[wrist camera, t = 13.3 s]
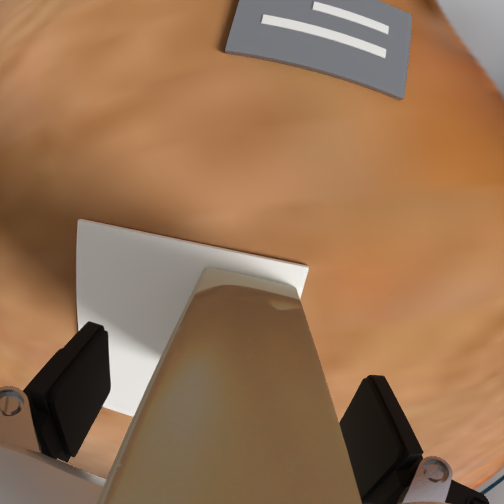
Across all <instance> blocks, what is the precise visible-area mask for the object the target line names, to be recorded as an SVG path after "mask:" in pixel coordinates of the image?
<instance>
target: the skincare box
mask: <svg viewBox="0 0 504 504" xmlns="http://www.w3.org/2000/svg"><path fill="white" fill-rule="evenodd" d="M97 504H362V502H361V498H360V495H359V491H358V487H357V484H356V480H355V477H354V473H353V469H352V466H351V462H350V459H349V455H348V451H347V448H346V445H345V442H344V439H343V435H342V432H341V428H340V425H339V421H338V418H337V415H336V412H335V409H334V405H333V402H332V398H331V395H330V392H329V389H328V385H327V382H326V379H325V375H324V372H323V370H322V366H321V363H320V360H319V356H318V353H317V350H316V347H315V344H314V341H313V338H312V335H311V332H310V329H309V326H308V323H307V320H306V316H305V313H304V310H303V307H302V304H301V301H300V298H299V295H298V292H297V289H296V288H295V287H294V286H290V285H286V284H282V283H278V282H274V281H270V280H266V279H262V278H258V277H254V276H249V275H245V274H241V273H236V272H232V271H227V270H223V269H219V268H214V267H206V268H204V270H203V271H202V273H201V275H200V277H199V279H198V281H197V284H196V286H195V288H194V290H193V292H192V294H191V296H190V298H189V300H188V302H187V304H186V306H185V308H184V310H183V312H182V314H181V316H180V318H179V320H178V322H177V324H176V326H175V328H174V330H173V332H172V334H171V337H170V339H169V341H168V343H167V345H166V347H165V349H164V351H163V353H162V355H161V357H160V360H159V362H158V364H157V366H156V368H155V370H154V372H153V375H152V377H151V379H150V381H149V383H148V385H147V388H146V390H145V392H144V394H143V397H142V399H141V401H140V403H139V406H138V408H137V410H136V412H135V415H134V417H133V419H132V422H131V424H130V426H129V428H128V431H127V433H126V435H125V437H124V440H123V442H122V444H121V447H120V449H119V451H118V454H117V456H116V458H115V461H114V463H113V465H112V468H111V470H110V472H109V475H108V477H107V480H106V482H105V484H104V487H103V489H102V492H101V494H100V497H99V499H98V502H97Z"/></svg>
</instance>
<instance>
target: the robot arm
mask: <svg viewBox="0 0 504 504" xmlns="http://www.w3.org/2000/svg"><path fill="white" fill-rule="evenodd" d="M110 390H111V378H110V364H109V342H108V331H106V330H104V326H103V325H100V324H97V323H94V322H90V321H88V322H87V323H86V324H85V325H84V326H83V327H82V328H81V329H80V330H79V331H78V332H77V334H76V335H75V336H74V337H73V338H72V339H71V340H70V341H69V342H68V343H67V344H66V346H65V347H64V348H62V349H60V350H58V351H57V352H56V354H55V355H54V356H53V357H52V358H51V359H50V360H49V361H48V362H47V364H46V365H45V366H44V367H43V368H42V369H41V370H40V372H39V373H38V374H37V375H36V376H35V377H34V378H33V380H32V381H31V382H30V383H29V384H28V385H27V387H26V388H25V389H24V390H23V391H22V390H20V389H19V388H16V387H13V386H5V387H0V504H97V502H98V499H99V497H100V494H101V492H102V489H103V487H104V484H105V482H106V480H107V479H104V478H101V477H98V476H96V475H93V474H90V473H88V472H85V471H83V470H80V469H78V468H75V467H73V466H70V465H68V464H66V463H63V462H61V461H58V460H56V459H57V458H59V459H61V460H63V461H65V462H68V461H69V459H70V457H71V456H72V457H75V456H76V454H77V453H78V451H79V449H80V447H81V445H82V443H83V441H84V439H85V437H86V435H87V434H88V432H89V430H90V428H91V426H92V424H93V422H94V421H95V419H96V417H97V415H98V413H99V411H100V410H101V408H102V406H103V404H104V402H105V400H106V399H107V397H108V395H109V393H110ZM339 425H340V428H341V432H342V435H343V439H344V442H345V445H346V448H347V451H348V455H349V459H350V462H351V466H352V469H353V473H354V477H355V480H356V484H357V487H358V491H359V495H360V498H361V502H362V504H489V501H488V499H487V498H486V497H485V496H484V495H483V494H481V493H479V492H477V491H475V490H473V489H470V488H468V487H466V486H464V485H462V484H460V483H458V482H456V481H453V480H452V469H451V467H450V465H449V464H448V463H447V462H446V461H445V460H443V459H441V458H439V457H436V456H429V457H425V458H424V459H423V457H422V454H423V450H422V448H421V446H420V444H419V442H418V440H417V438H416V436H415V434H414V432H413V430H412V428H411V426H410V424H409V422H408V420H407V418H406V416H405V414H404V412H403V410H402V409H401V407H400V405H399V403H398V401H397V399H396V397H395V395H394V393H393V391H392V389H391V388H390V386H389V384H388V382H387V380H386V378H385V377H384V376H379V375H369V376H368V377H367V378H365V379H363V380H362V382H361V384H360V386H359V388H358V390H357V392H356V394H355V396H354V397H353V399H352V401H351V403H350V405H349V407H348V408H347V410H346V412H345V414H344V416H343V417H342V419H341V421H340V423H339Z"/></svg>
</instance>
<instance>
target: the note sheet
mask: <svg viewBox="0 0 504 504" xmlns="http://www.w3.org/2000/svg"><path fill="white" fill-rule="evenodd" d="M206 267H214V268H219V269H223V270H227V271H232V272H236V273H241V274H245V275H249V276H254V277H258V278H262V279H266V280H270V281H274V282H278V283H282V284H286V285H290V286H294V287H295V288H296V289H297V292H298V295H299V298H300V297H301V294H302V290H303V287H304V284H305V280H306V277H307V273H308V269H309V267H308V265H303V264H298V263H293V262H288V261H283V260H278V259H274V258H269V257H264V256H259V255H254V254H249V253H244V252H240V251H235V250H230V249H225V248H220V247H215V246H210V245H206V244H201V243H196V242H191V241H186V240H181V239H177V238H172V237H167V236H162V235H157V234H152V233H148V232H143V231H138V230H133V229H128V228H123V227H119V226H114V225H109V224H104V223H99V222H95V221H90V220H85V219H79V220H78V225H77V247H76V294H77V316H78V331H79V330H80V329H81V328H82V327H83V326H84V325H85V324H86V323H87V322H88V321H90V322H94V323H97V324H100V325H103V326H104V330H106V331H108V342H109V364H110V378H111V390H110V393H109V395H108V397H107V399H106V400H105V402H104V404H103V406H102V407H105V408H108V409H111V410H114V411H117V412H120V413H123V414H127V415H130V416H133V417H134V415H135V412H136V410H137V408H138V406H139V403H140V401H141V399H142V397H143V394H144V392H145V390H146V388H147V385H148V383H149V381H150V379H151V377H152V375H153V372H154V370H155V368H156V366H157V364H158V362H159V360H160V357H161V355H162V353H163V351H164V349H165V347H166V345H167V343H168V341H169V339H170V337H171V334H172V332H173V330H174V328H175V326H176V324H177V322H178V320H179V318H180V316H181V314H182V312H183V310H184V308H185V306H186V304H187V302H188V300H189V298H190V296H191V294H192V292H193V290H194V288H195V286H196V284H197V281H198V279H199V277H200V275H201V273H202V271H203V270H204V268H206Z"/></svg>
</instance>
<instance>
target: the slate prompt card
mask: <svg viewBox="0 0 504 504" xmlns="http://www.w3.org/2000/svg"><path fill="white" fill-rule="evenodd" d="M411 25H412V15H411V14H409V13H407V12H405V11H402V10H400V9H398V8H396V7H393V6H391V5H388V4H386V3H384V2H381V1H379V0H239V3H238V7H237V10H236V13H235V16H234V20H233V23H232V27H231V30H230V34H229V37H228V41H227V44H226V48H225V53H227V54H234V55H240V56H246V57H252V58H258V59H263V60H268V61H273V62H278V63H282V64H287V65H291V66H295V67H299V68H303V69H307V70H311V71H315V72H319V73H322V74H326V75H329V76H332V77H336V78H339V79H342V80H345V81H349V82H352V83H355V84H358V85H361V86H363V87H366V88H369V89H372V90H375V91H377V92H380V93H383V94H385V95H388V96H390V97H393V98H395V99H398V100H402V99H404V93H405V86H406V78H407V70H408V61H409V51H410V39H411Z"/></svg>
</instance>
